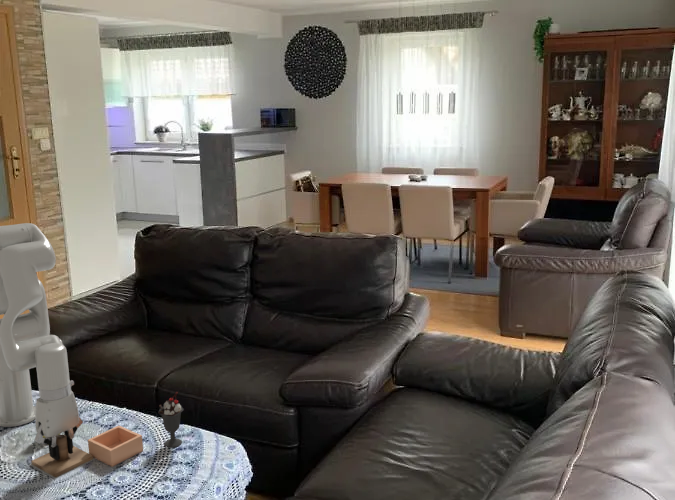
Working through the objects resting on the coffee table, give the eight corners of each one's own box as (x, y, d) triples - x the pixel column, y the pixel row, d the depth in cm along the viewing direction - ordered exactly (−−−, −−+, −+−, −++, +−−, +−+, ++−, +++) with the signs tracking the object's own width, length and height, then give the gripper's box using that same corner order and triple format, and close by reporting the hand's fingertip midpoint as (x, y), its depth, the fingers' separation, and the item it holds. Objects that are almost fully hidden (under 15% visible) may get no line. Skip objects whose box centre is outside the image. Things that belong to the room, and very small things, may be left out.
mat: (29, 465, 178) (28, 464, 178) (69, 447, 187) (69, 445, 187) (55, 480, 171) (54, 479, 171) (96, 460, 180) (95, 458, 180)
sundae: (190, 440, 191) (187, 391, 187) (175, 451, 185) (171, 400, 181) (171, 435, 193) (168, 387, 190) (156, 446, 187) (152, 396, 184)
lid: (31, 464, 178) (28, 440, 176) (69, 446, 187) (66, 423, 185) (55, 477, 172) (52, 452, 170) (93, 458, 180) (90, 435, 179)
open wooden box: (89, 456, 182) (87, 439, 181) (120, 441, 190) (118, 425, 189) (112, 468, 176) (110, 450, 175) (143, 452, 184) (141, 435, 183)
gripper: (74, 377, 183) (80, 438, 187) (16, 398, 170) (24, 464, 174) (91, 383, 179) (97, 446, 183) (33, 406, 166) (41, 473, 170)
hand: (61, 454), depth 179 cm, fingers closed on lid, 3 cm apart
